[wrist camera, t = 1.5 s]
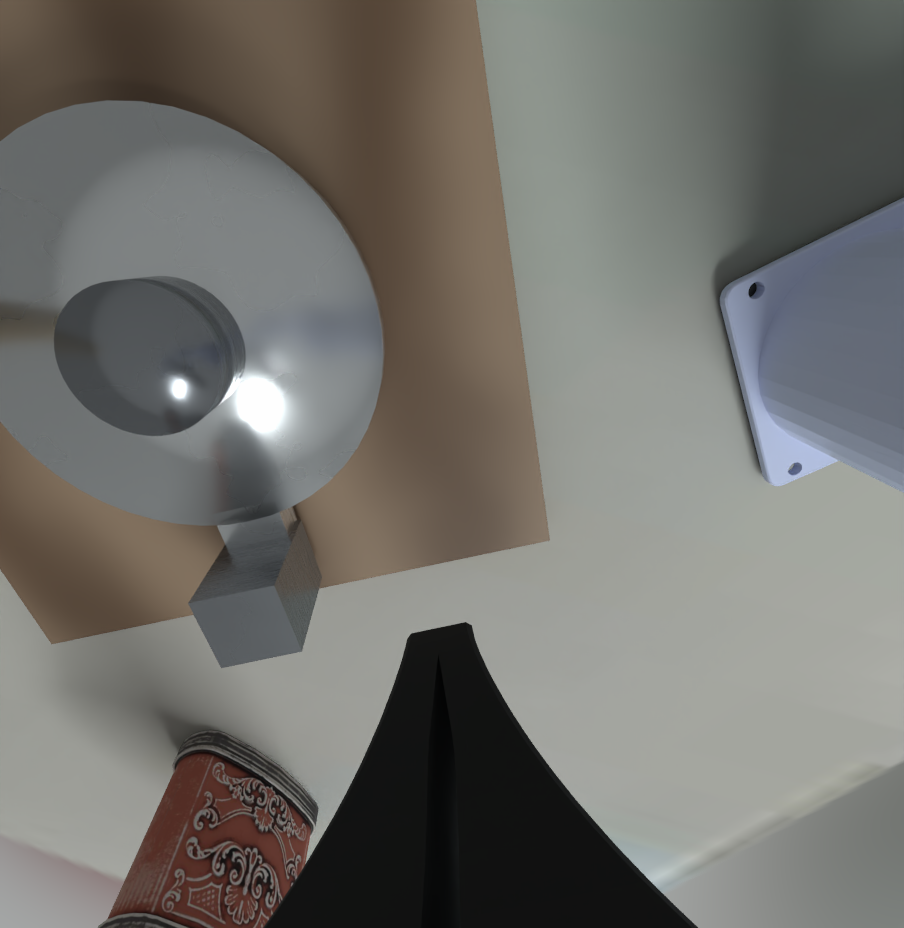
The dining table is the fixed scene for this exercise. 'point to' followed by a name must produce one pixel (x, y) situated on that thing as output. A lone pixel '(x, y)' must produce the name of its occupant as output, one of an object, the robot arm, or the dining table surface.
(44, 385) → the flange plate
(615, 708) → the dining table surface
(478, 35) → the walnut board
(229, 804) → the lighter
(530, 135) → the dining table surface
